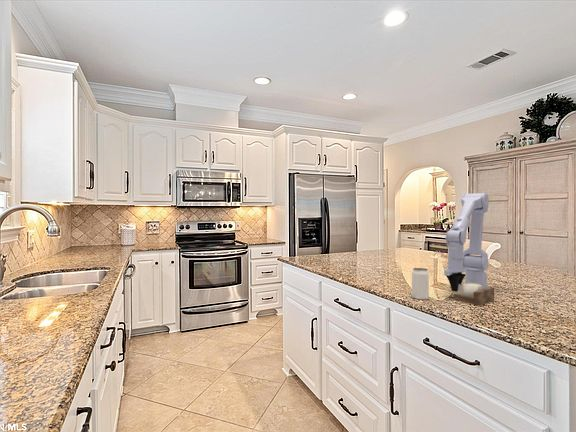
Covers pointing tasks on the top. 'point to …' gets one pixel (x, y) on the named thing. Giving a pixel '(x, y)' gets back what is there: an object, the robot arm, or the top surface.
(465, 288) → the jug
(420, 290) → the can
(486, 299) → the holder
